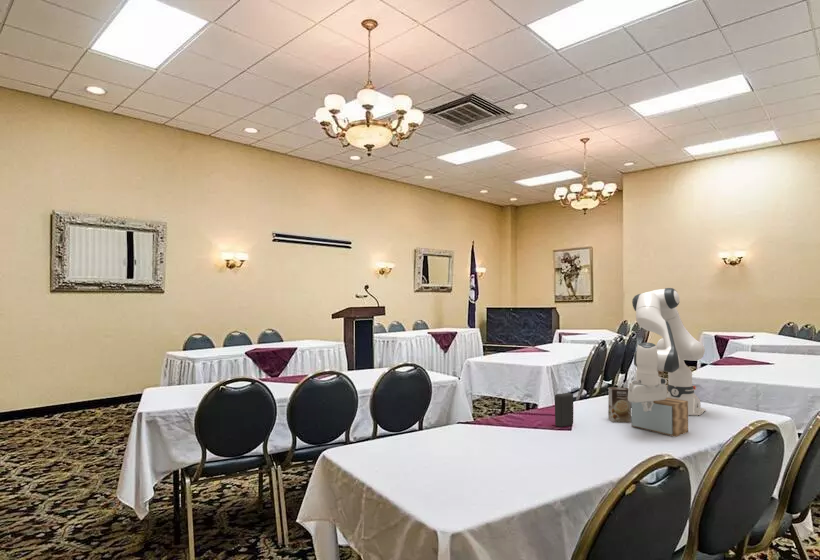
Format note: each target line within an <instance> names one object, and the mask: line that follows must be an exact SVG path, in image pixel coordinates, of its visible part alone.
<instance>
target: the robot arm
mask: <svg viewBox="0 0 820 560" xmlns="http://www.w3.org/2000/svg"><path fill="white" fill-rule="evenodd" d="M631 302H632V308H633V310H634V311H635V319H636V322H637V325H639V327H640V328H642V329H643V330H645V331H648V332H651V333H654V334H657V335H659V336H660V337H662V338H660V339H659V340H658V341H657V343H656V344H655V343H653V342H640V343H638V344H637V347H636V348H637V349H636V351H635V352H634V353H633V365H634V366H635V367H636V372H635V373H636V374H635V379H636V380H631V382H630V383H629V385H628V388H629V389H628V401H629V402H633V403H639V402H641V404H642V406H643V411H645V412H649V411H651V407H652V405H653V401H658V400H665V399H666V398H673V399H679V400H685V401H688V416H698V415H699V416H701V415H702V414H703V412H704V411H705V412H707V411H706V408H704V407H701V399H700V398H699V397H698V396H697V395H696V394H695V390H697V387H696V385H693V372H692V370H691V368H689V366H688V365H687V364H686V363H685V361H697V360H698V361H699V360H701V359H702V358H703V357H704V356H705V345H704V344H703V343H702V342H701V341H699V340H697V339H696V338H695V337H694V336H693V335H691V333H690V332H689V331H688V329H687V328H686V327H685V326H684V323H683V321H682V318H681V316H680V313H679V310H678V309H677V307H679V305H680V294H679V293H678V291H677V290H676V289H675V288H673V287H665V288H659V289H653V290H650V291H646V292H642V293H639V294H636V295H634V296H633V298H632V301H631ZM659 372H666V373H667V377H668V378H667V379H668V381H667V379H666V378H665V377H662V376H659ZM667 383H668V384H667ZM647 403H648V405H647ZM705 412H704V413H705Z"/></svg>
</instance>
